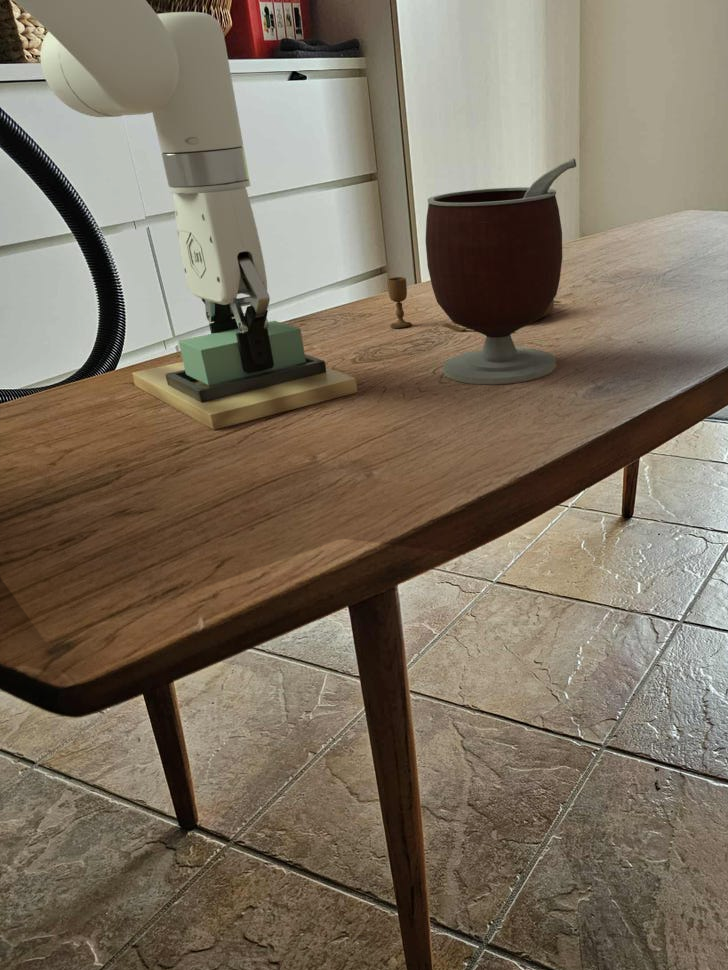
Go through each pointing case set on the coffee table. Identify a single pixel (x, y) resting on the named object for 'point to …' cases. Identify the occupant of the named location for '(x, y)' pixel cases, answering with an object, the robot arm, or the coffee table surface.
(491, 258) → the mate gourd
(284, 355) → the green rectangular block
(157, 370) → the wooden block holder
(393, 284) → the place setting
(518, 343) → the coffee table surface
